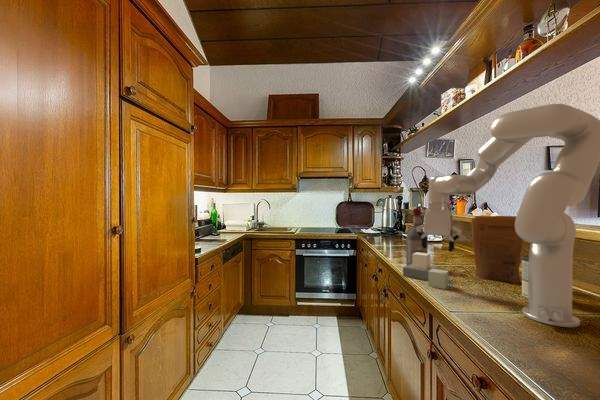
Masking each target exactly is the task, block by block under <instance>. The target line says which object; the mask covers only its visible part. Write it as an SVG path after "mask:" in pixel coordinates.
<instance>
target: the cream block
mask: <svg viewBox="0 0 600 400" xmlns="http://www.w3.org/2000/svg"><path fill="white" fill-rule="evenodd" d="M430 266H431V253H428V252H427V253H419V252H416V253H413V254H412V267H414V268H421V269H428V268H429V267H430Z"/></svg>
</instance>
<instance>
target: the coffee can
mask: <svg viewBox="0 0 600 400" xmlns="http://www.w3.org/2000/svg"><path fill="white" fill-rule="evenodd" d="M520 259H521V296H522V297H525V298H527V299H528V296H529V254H528V255H521V257H520Z"/></svg>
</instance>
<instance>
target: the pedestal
mask: <svg viewBox="0 0 600 400" xmlns="http://www.w3.org/2000/svg"><path fill="white" fill-rule="evenodd" d="M431 269H439V270H440V267H439V266H436V265H435V266H434V265H430V267H429V268H428V269H421V268H414V267H412V263H411V264H409V265H405V266H403V267H402V276H403V277H406V278H410V277H411V279H416V280H417V279H418V280H421V281H426V282H428V271H430V270H431Z"/></svg>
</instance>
